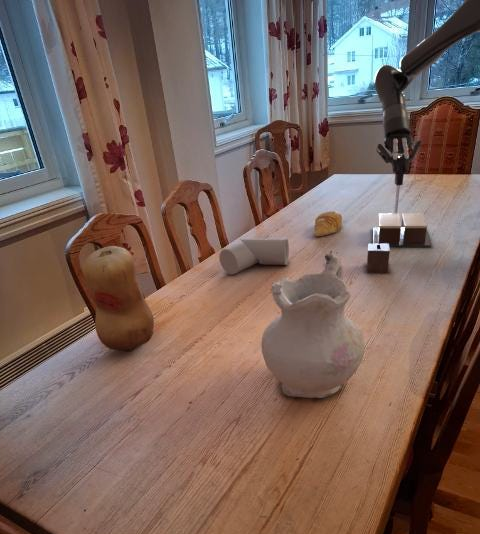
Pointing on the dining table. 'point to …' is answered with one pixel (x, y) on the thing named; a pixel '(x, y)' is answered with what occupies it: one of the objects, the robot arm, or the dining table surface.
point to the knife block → (378, 258)
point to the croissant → (327, 223)
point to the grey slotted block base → (401, 230)
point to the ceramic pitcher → (313, 334)
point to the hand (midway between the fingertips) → (401, 172)
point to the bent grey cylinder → (254, 254)
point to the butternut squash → (118, 299)
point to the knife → (399, 179)
